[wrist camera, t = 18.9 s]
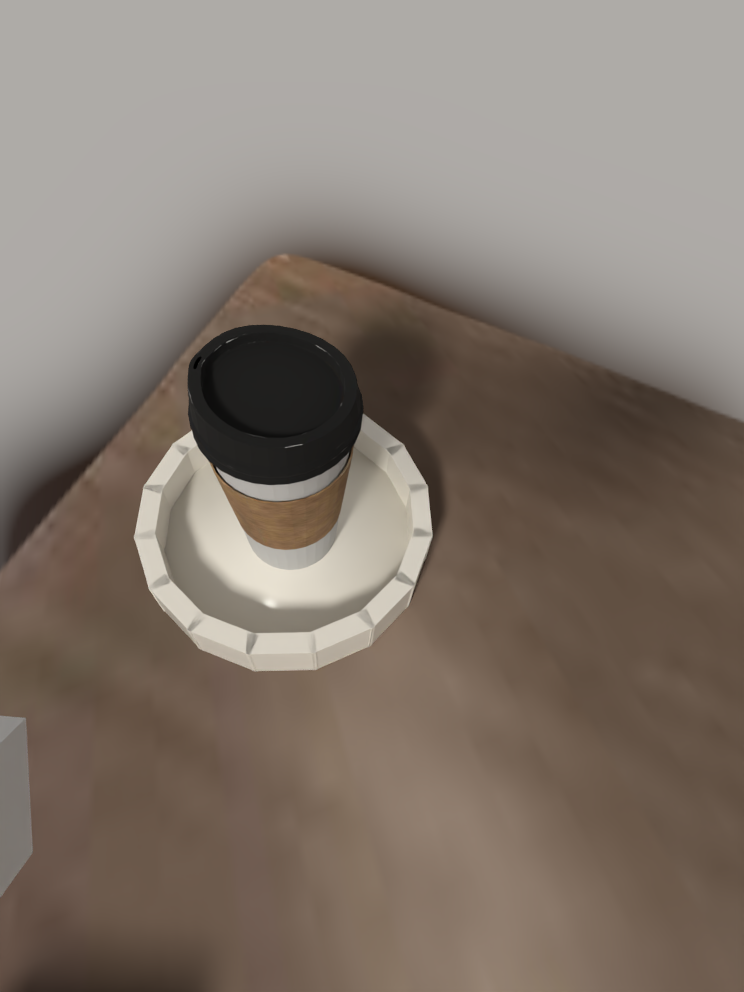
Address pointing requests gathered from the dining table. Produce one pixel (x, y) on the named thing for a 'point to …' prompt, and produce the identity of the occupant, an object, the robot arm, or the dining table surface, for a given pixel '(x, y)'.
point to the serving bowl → (278, 592)
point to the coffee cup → (277, 435)
